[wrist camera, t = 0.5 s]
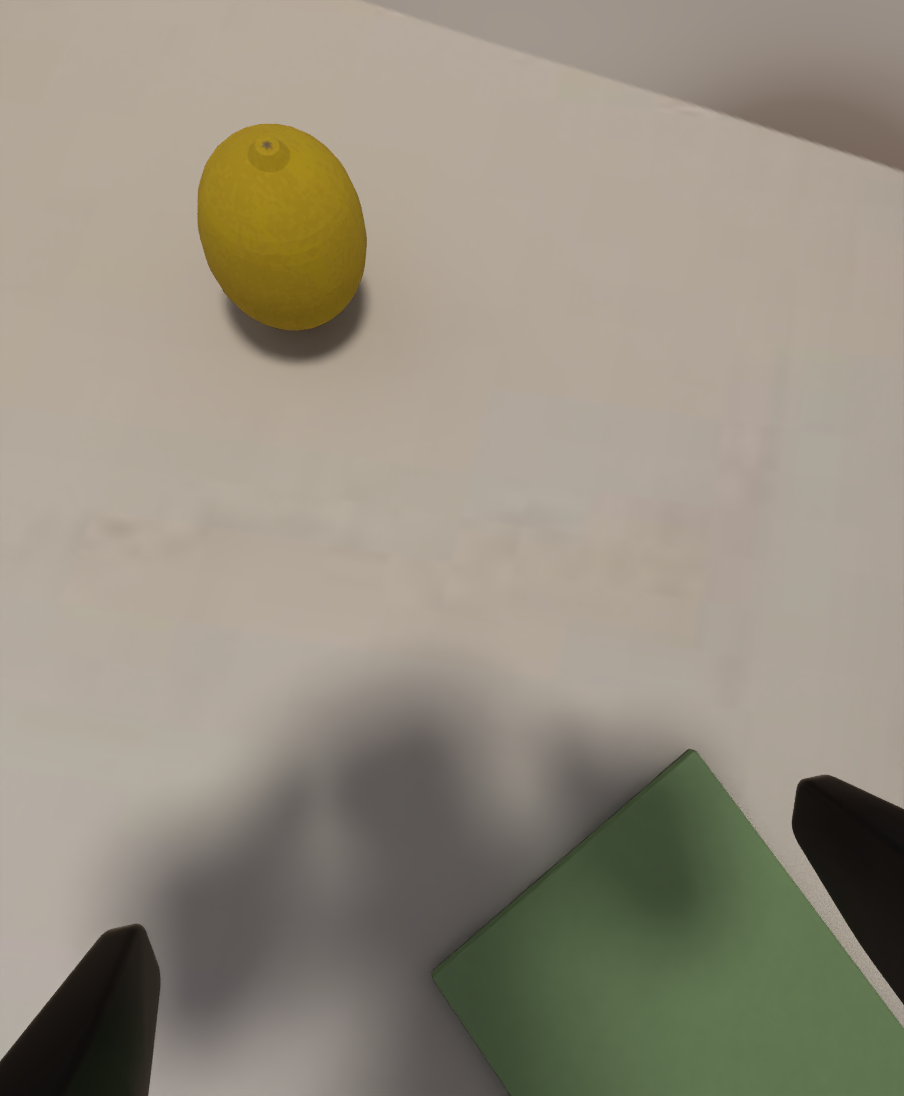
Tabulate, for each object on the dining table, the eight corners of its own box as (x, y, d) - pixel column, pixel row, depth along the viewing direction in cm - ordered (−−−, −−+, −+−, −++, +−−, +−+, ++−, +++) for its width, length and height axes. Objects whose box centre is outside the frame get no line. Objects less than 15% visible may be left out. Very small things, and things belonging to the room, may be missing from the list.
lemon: (202, 329, 25) (126, 173, 18) (270, 223, 27) (227, 33, 19) (329, 390, 26) (309, 261, 18) (390, 281, 27) (397, 116, 19)
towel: (937, 1080, 23) (949, 1088, 22) (691, 1361, 20) (699, 1377, 20) (689, 748, 24) (695, 749, 24) (430, 971, 22) (431, 978, 21)
